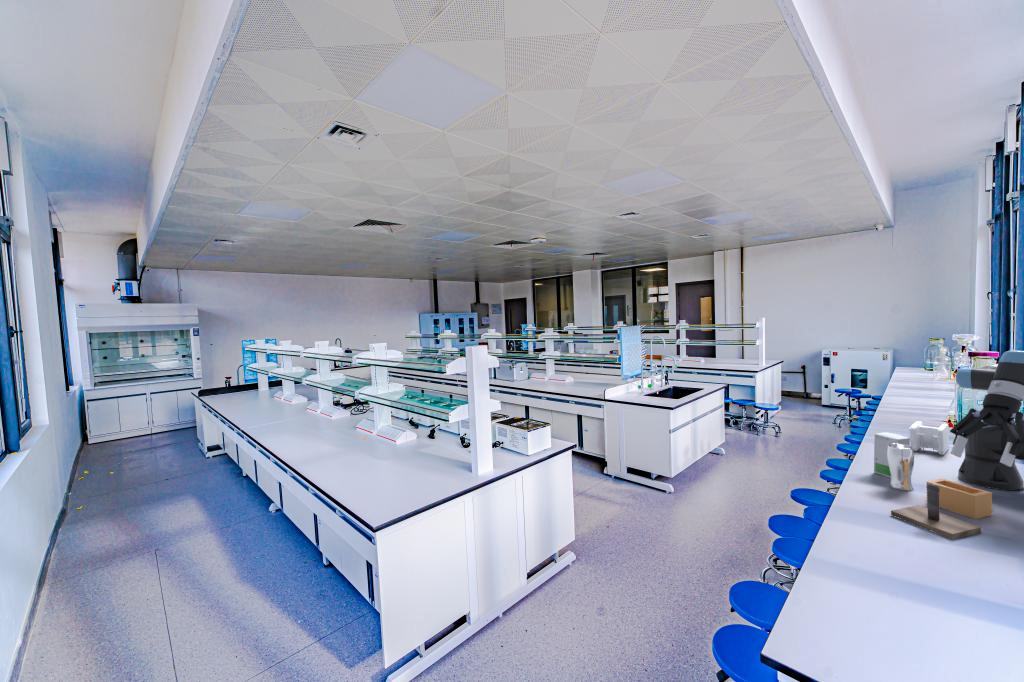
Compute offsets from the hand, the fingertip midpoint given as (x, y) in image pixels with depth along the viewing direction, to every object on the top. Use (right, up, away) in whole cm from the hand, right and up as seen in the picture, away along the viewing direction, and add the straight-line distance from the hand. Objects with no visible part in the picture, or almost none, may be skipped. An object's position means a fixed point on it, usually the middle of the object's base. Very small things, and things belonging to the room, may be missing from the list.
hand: (979, 459), depth 127 cm
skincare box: (+1, -15, +30) cm, 34 cm away
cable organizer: (+39, -12, +53) cm, 67 cm away
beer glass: (-5, -16, +20) cm, 26 cm away
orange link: (-4, -16, +3) cm, 17 cm away
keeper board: (-19, -17, -5) cm, 26 cm away
